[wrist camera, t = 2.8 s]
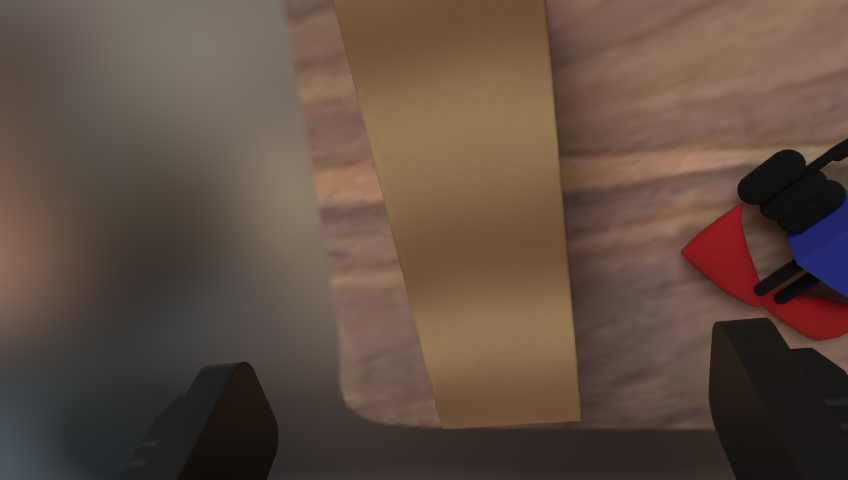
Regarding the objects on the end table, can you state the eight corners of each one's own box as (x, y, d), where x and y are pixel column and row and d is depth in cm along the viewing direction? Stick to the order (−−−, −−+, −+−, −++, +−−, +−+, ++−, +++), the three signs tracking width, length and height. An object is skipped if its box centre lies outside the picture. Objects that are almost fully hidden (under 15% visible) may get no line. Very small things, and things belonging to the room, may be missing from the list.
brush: (371, -32, 15) (331, -2, 11) (528, -64, 15) (541, -44, 11) (450, 330, 21) (441, 430, 17) (565, 320, 20) (582, 422, 17)
